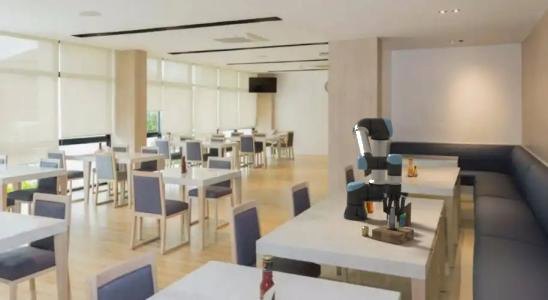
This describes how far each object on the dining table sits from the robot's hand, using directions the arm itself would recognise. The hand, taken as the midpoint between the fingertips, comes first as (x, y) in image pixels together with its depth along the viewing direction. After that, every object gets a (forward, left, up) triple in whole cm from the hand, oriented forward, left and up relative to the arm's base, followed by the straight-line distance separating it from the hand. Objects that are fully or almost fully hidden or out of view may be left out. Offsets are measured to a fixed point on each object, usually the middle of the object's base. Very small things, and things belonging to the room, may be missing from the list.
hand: (393, 226), depth 240 cm
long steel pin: (0, 0, -4) cm, 4 cm away
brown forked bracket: (-33, -12, -7) cm, 36 cm away
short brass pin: (+5, -14, -7) cm, 16 cm away
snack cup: (-17, -7, -7) cm, 20 cm away
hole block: (0, 0, -7) cm, 7 cm away
